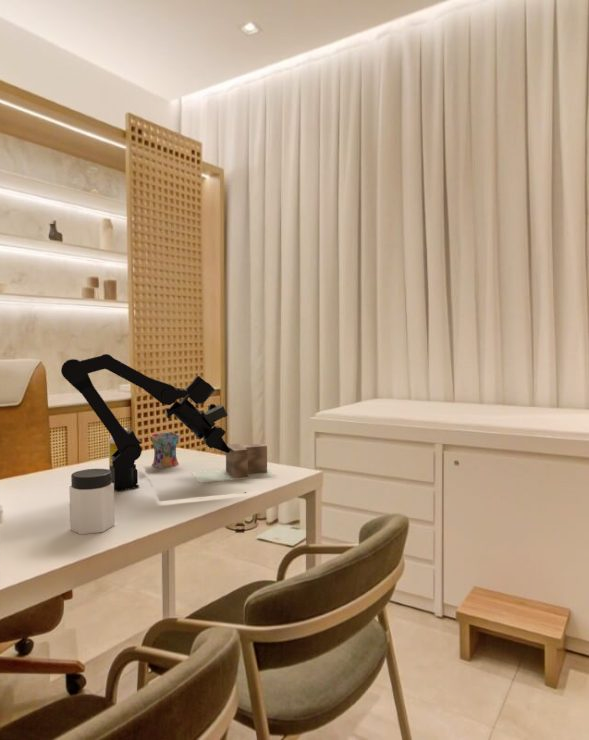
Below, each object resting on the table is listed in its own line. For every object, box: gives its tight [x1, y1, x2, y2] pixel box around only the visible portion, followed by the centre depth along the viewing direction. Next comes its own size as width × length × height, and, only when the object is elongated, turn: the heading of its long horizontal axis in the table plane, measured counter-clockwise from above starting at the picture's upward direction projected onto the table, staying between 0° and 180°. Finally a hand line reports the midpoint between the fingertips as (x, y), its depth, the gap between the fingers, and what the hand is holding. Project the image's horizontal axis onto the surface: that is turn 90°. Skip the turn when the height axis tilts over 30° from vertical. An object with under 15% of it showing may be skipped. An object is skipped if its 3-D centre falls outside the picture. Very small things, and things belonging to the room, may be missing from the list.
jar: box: [68, 468, 116, 535], centre depth 116 cm, size 9×8×12 cm
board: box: [191, 468, 276, 484], centre depth 160 cm, size 22×13×1 cm, turn 111°
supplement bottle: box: [108, 427, 128, 469], centre depth 171 cm, size 7×7×13 cm
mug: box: [149, 432, 180, 469], centre depth 174 cm, size 12×9×11 cm
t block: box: [225, 443, 268, 479], centre depth 161 cm, size 11×10×8 cm
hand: (229, 451), depth 159 cm, fingers closed, pressing on t block
